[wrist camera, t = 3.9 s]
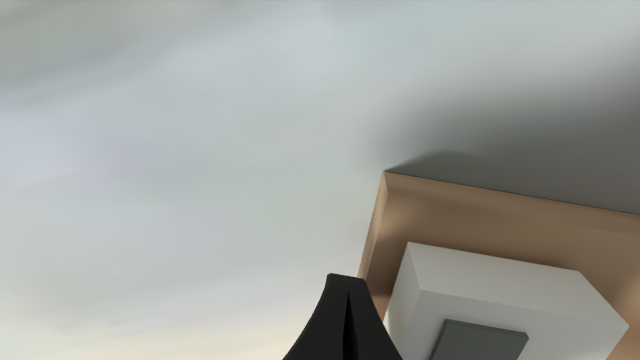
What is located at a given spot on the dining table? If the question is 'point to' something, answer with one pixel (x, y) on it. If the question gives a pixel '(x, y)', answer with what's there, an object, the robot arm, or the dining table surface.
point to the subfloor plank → (506, 239)
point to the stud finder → (496, 310)
